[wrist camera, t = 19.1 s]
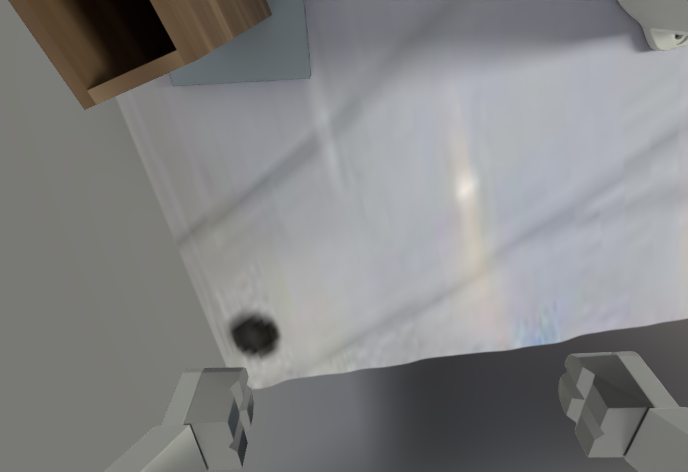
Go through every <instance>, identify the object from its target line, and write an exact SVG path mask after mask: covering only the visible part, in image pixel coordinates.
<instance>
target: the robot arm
mask: <svg viewBox="0 0 688 472" xmlns="http://www.w3.org/2000/svg"><path fill="white" fill-rule="evenodd" d="M618 2H619V3H620V5H621V6H622V8H623V9H624V10H625V11H626V12H627V13H628V14H629V15H630V16H632V17H633V18H634V19H635V20H637V21H638V22H639V23H640V25H641V26H642V28H643V32H644V35H645V38H646V40H647V43H648V44H649V46H650V47H651V48H652V49H653V50H659V51H666V50H670V49H674V48H678V47H682V46H686V45H688V0H618ZM675 34H678V36H677V37H676V38H675ZM565 366H566V368H567V370H568V372H566V373H565V374H564V375H563V376H561V378H560V382H559V398H560V401H561V404H562V406H563V409H564V411H565V413H566V415H567V416H568V417H570V418H571V419H572V420H574V421H575V422H576V423H577V425H576V429H575V433H576V435H577V437H578V439H579V441H580V443H581V445H582V447H583V449H584V450H585V453H586V455H587V457H625V460H626V461H627V462H628V463H630V464H631V465H632V466H633V467H634V468H635V469H636V470H637V471H638V472H688V408H687V407H679V406H678V405H677V403H676V402H675V401H674V400H673V398H672V397H671V396H670V394H669V393H668V392H667V391H666V389H665V388H664V387H663V385H662V384H661V383H660V382H659V380H658V379H657V378H656V376H655V375H654V374H653V373H652V371H651V370H650V369H649V367H648V366H647V365H646V364H645V362H644V361H643V360H642V358H641V357H640V356H639V355H638V354H637V353H635V352H634V351H632V352H612V353H610V352H604V353H603V352H602V353H584V354H570V355H569V356H568V357H567V359H566V362H565ZM247 381H248V374H247V370H246V368H243V367H242V368H193V369H192V368H191V369H186V370H185V371H184V372H183V373H182V374H181V377H180V379H179V382H178V384H177V387H176V389H175V391H174V394H173V396H172V399H171V401H170V404H169V407H168V409H167V412H166V414H165V416H164V419H163V421H162V424H161V426H154V427H153V428H152V429H151V430H150V431H149V432H148V433H146V434H145V435H144V436H143V437H142V438H141V439H140V440H139V441H137V442H136V443H135V444H134V445H133V446H132V447H131V448H130V449H128V450H127V451H126V452H125V453H124V454H123V455H122V456H121V457H120V458H119V459H117V460H116V461H115V462H114V463H113V464H112V465H111V466H110V467H108V468H107V469H106V470H105V471H104V472H208V471H209V470H225V469H242V468H243V463H244V458H245V453H246V449H247V444H248V442H247V438H246V435H245V432H246V431H247V430H248V429H249V428H250V427H251V424H252V418H253V408H254V401H253V393H252V389H251V388H250V387H249V386H247Z"/></svg>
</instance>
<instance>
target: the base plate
mask: <svg viewBox="0 0 688 472" xmlns="http://www.w3.org/2000/svg"><path fill="white" fill-rule="evenodd" d="M266 1H267V3H268V6H269V8H270V10H271V13H272V15H271V16H270V17H268V18H266V19H265V20H263V21H261V22H260V23H258V24H256V25H255V26H253V27H251V28H250V29H248V30H247V31H245V32H243V33H242V34H240V35H238V36H237V37H235V38H233V39H232V40H230V41H228V42H227V43H225V44H223V45H222V46H220V47H218V48H217V49H215V50H213V51H212V52H210V53H208V54H207V55H205V56H204V57H202V58H200V59H199V60H196V61H194V62H192V63H190V64H187V65H185V66H183V67H180V68H178V69H176V70H174V71H171V72H169V73H170V77H171V81H172V85H173V86H183V85H201V84H219V83H236V82H254V81H272V80H290V79H307V78H310V77H311V69H310V58H309V47H308V36H307V25H306V13H305V2H304V0H266Z"/></svg>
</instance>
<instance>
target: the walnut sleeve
mask: <svg viewBox="0 0 688 472" xmlns="http://www.w3.org/2000/svg"><path fill="white" fill-rule="evenodd" d="M9 2H10V3H11V5H12V6H13V8H14V9H15V11H16V12H17V13H18V14H19V16H20V18H21V19H22V21H23V22H24V23H25V25H26V26H27V28H28V29H29V31H30V32H31V33H32V35H33V36H34V38H35V39H36V41H37V42H38V43H39V45H40V46H41V48H42V49H43V51H44V52H45V53H46V55H47V56H48V58H49V59H50V61H51V62H52V63H53V65H54V66H55V68H56V69H57V71H58V72H59V74H60V75H61V77H62V78H63V79H64V81H65V82H66V84H67V85H68V86H69V88H70V89H71V91H72V92H73V94H74V95H75V97H76V98H77V100H78V101H79V102H80V104H81V105H82V107H83V108H84V109H87V108H89V107H92V106H94V105H96V104H99V103H101V102H103V101H105V100H107V99H110V98H112V97H114V96H117V95H119V94H121V93H124V92H126V91H128V90H130V89H133V88H135V87H137V86H139V85H142V84H144V83H146V82H149V81H151V80H153V79H155V78H158V77H160V76H162V75H164V74H167V73H169V72H171V71H174V70H176V69H178V68H180V67H183V66H185V65H187V64H190V63H192V62H194V61H196V60H199V59H200V58H202V57H204V56H205V55H207V54H208V53H210V52H212V51H213V50H215V49H217V48H218V47H220V46H222V45H223V44H225V43H227V42H228V41H230V40H232V39H233V38H235V37H237V36H238V35H240V34H242V33H243V32H245V31H247V30H248V29H250V28H251V27H253V26H255V25H256V24H258V23H260V22H261V21H263V20H265V19H266V18H268V17H270V16H271V15H272V13H271V10H270V8H269V6H268V3H267V1H266V0H9Z"/></svg>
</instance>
